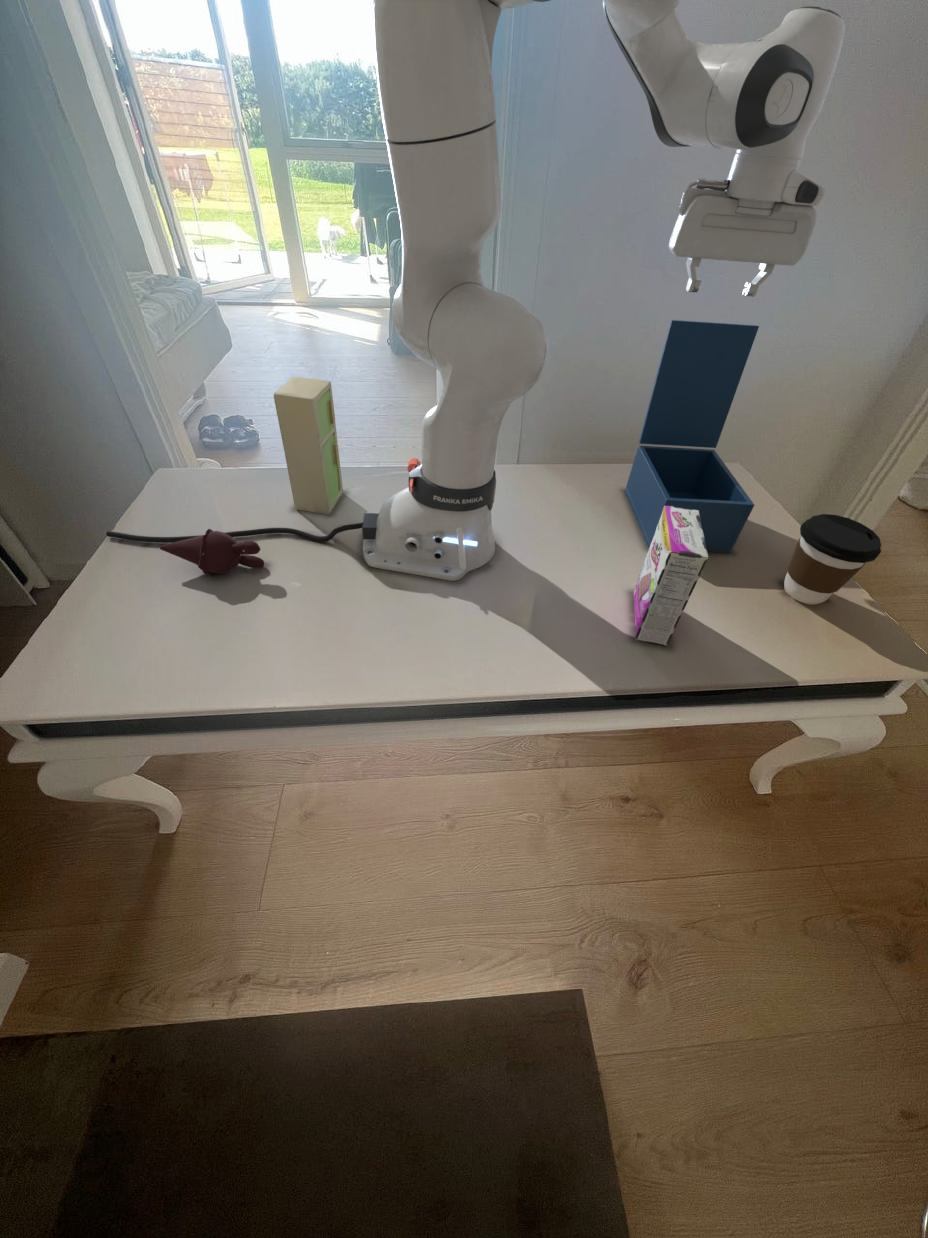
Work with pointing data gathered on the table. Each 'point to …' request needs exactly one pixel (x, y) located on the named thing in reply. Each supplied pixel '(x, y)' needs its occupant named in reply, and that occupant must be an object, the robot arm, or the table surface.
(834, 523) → the coffee cup
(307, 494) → the toy refrigerator
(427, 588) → the table surface
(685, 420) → the lid
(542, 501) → the table surface
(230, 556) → the icecream
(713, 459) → the cool box
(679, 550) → the candy bar box
